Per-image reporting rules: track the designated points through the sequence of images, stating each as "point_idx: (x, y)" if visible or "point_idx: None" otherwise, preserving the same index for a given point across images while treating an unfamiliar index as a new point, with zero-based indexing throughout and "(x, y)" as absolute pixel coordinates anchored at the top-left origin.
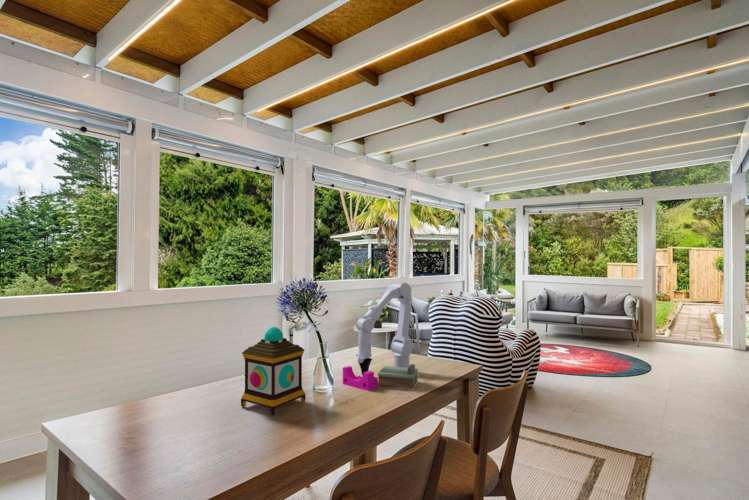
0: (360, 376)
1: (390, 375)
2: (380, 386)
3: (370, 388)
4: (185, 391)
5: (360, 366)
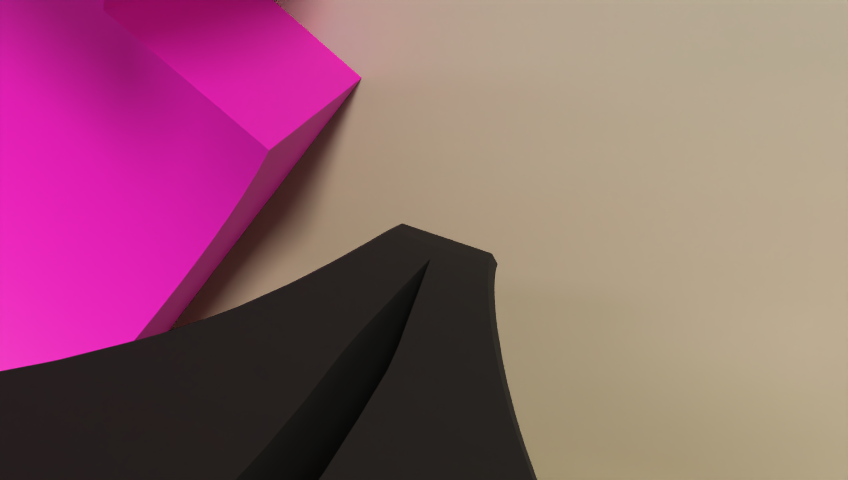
0: (232, 156)
1: None
2: None
3: None
4: None
5: (144, 351)
